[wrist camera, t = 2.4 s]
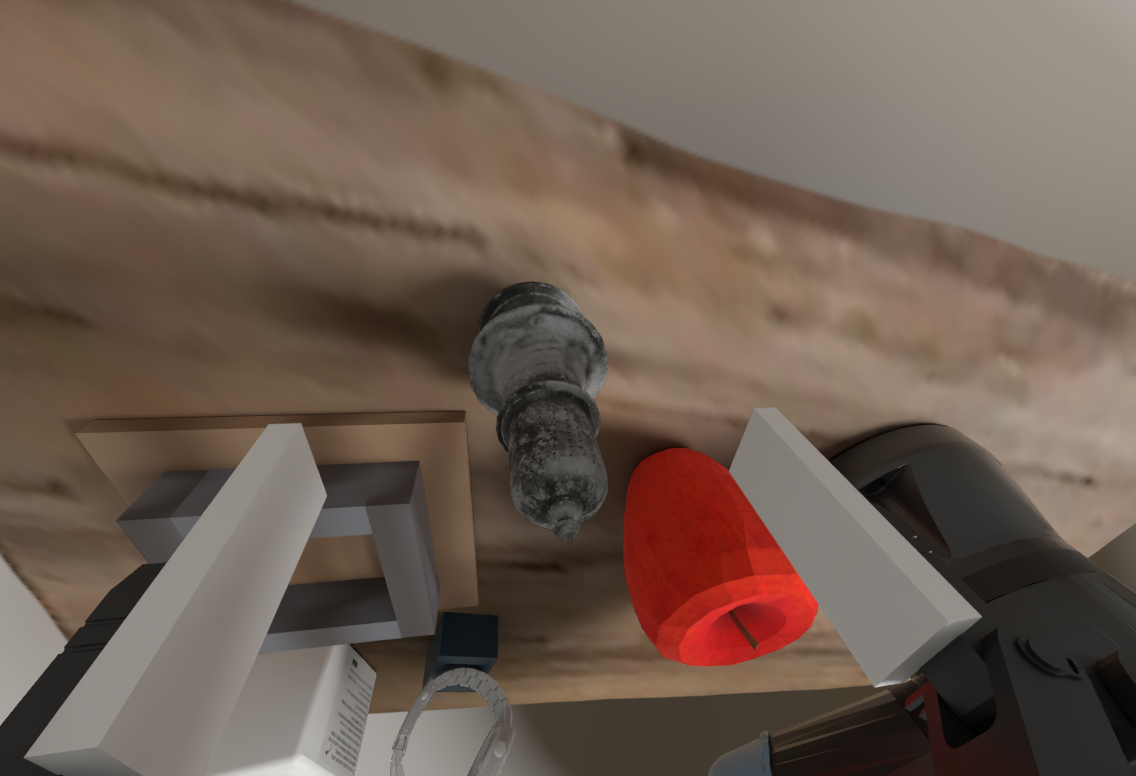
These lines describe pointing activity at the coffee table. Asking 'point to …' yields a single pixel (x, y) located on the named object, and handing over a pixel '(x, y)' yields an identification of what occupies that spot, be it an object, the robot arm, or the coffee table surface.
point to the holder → (345, 523)
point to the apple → (707, 565)
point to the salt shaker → (544, 402)
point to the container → (298, 715)
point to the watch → (463, 685)
